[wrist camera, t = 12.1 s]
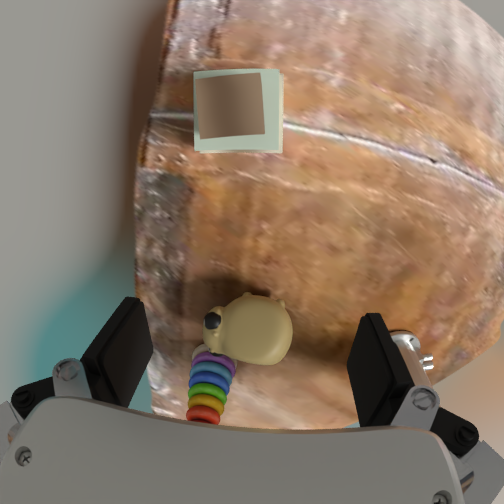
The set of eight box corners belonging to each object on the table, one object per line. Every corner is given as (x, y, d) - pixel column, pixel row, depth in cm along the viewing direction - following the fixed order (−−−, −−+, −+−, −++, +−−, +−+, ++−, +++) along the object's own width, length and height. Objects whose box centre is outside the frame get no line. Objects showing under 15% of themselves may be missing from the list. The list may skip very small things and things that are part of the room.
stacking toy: (185, 344, 46) (156, 436, 30) (227, 336, 45) (211, 435, 28) (204, 373, 50) (186, 459, 33) (244, 366, 48) (235, 459, 31)
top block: (277, 76, 26) (279, 69, 22) (277, 147, 29) (278, 150, 25) (202, 78, 26) (193, 71, 22) (203, 147, 29) (194, 150, 26)
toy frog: (210, 277, 40) (194, 324, 31) (294, 283, 40) (301, 333, 31) (211, 329, 45) (199, 379, 35) (285, 335, 44) (288, 386, 35)
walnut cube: (261, 82, 23) (260, 72, 18) (264, 132, 25) (264, 134, 20) (207, 87, 23) (195, 79, 19) (211, 137, 25) (199, 139, 21)
